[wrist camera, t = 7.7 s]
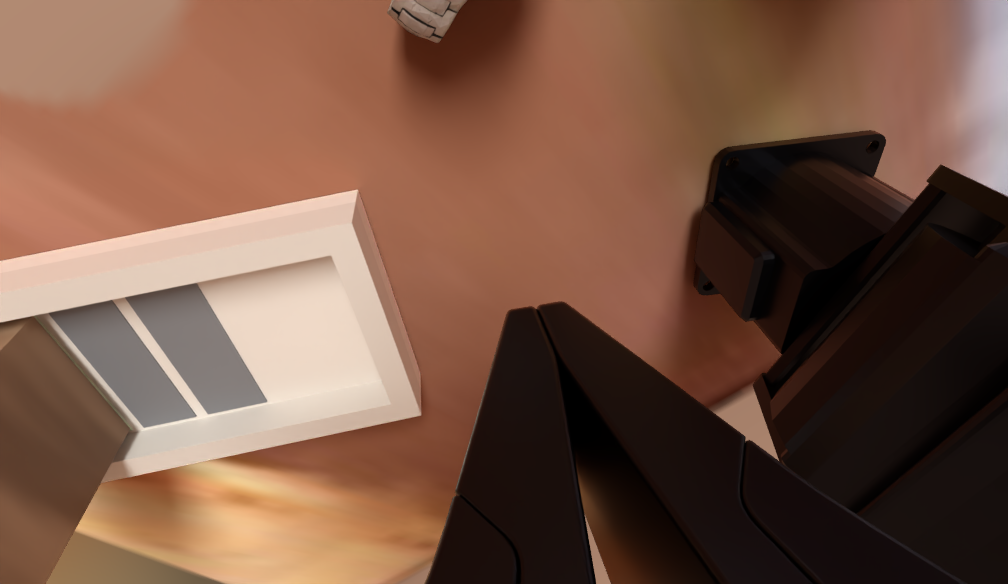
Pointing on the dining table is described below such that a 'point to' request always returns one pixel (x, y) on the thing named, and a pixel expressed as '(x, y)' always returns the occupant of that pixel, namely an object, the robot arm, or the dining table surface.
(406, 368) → the white rectangular recessed tray
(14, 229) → the dining table surface
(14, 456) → the walnut block
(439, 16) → the wristwatch
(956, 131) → the dining table surface
